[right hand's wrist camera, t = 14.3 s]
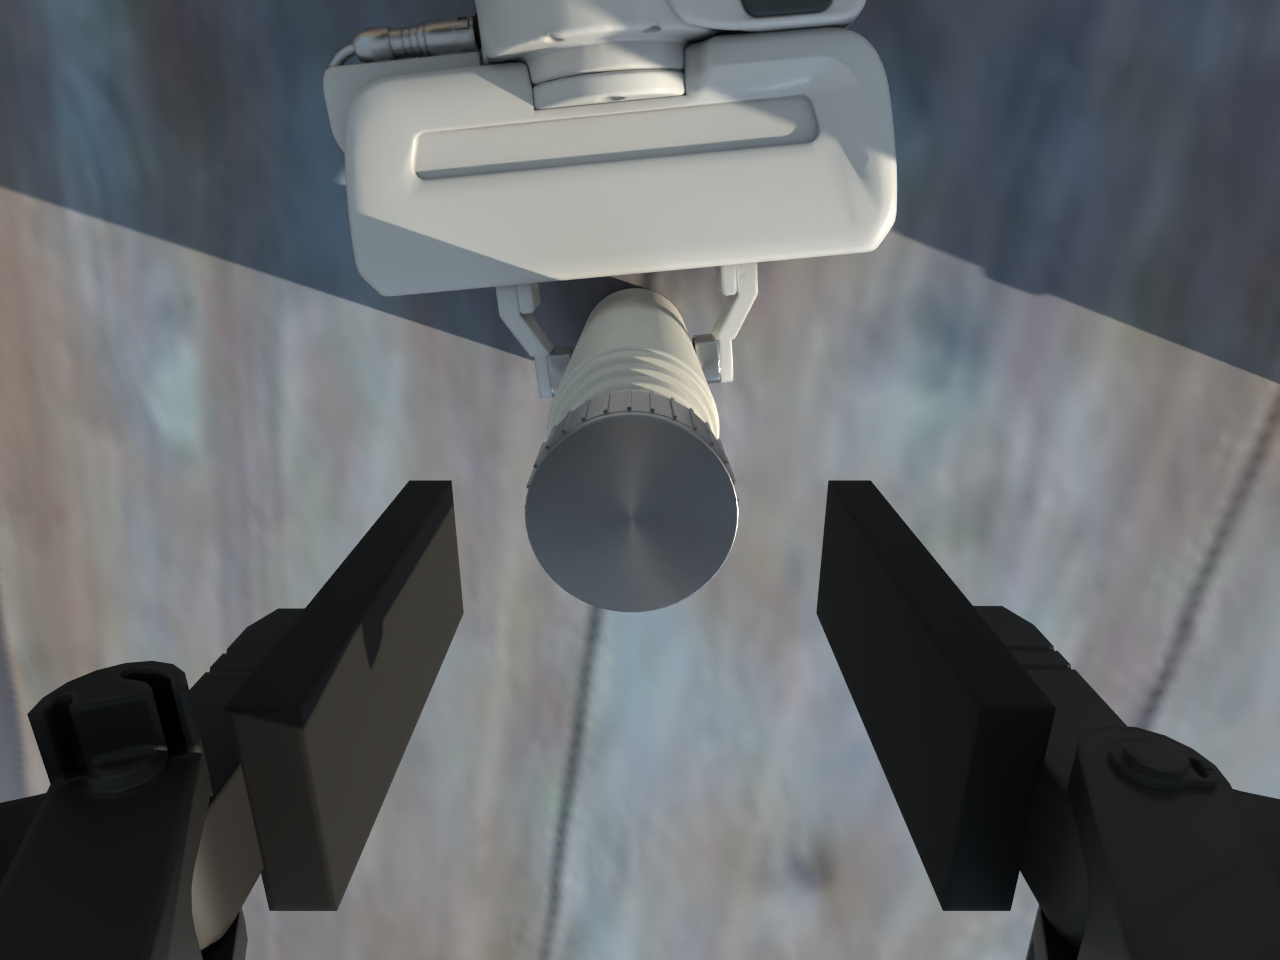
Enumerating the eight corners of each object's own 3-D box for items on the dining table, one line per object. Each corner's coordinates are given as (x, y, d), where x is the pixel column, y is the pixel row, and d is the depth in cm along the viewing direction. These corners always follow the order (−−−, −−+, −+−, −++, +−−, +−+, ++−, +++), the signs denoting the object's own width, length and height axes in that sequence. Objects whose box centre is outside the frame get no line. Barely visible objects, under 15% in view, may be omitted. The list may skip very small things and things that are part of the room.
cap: (550, 370, 17) (539, 392, 15) (750, 408, 18) (765, 435, 16) (522, 553, 19) (508, 595, 17) (706, 585, 19) (713, 630, 17)
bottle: (593, 278, 36) (534, 377, 16) (696, 299, 37) (773, 423, 16) (575, 381, 38) (501, 593, 17) (674, 399, 38) (718, 630, 18)
